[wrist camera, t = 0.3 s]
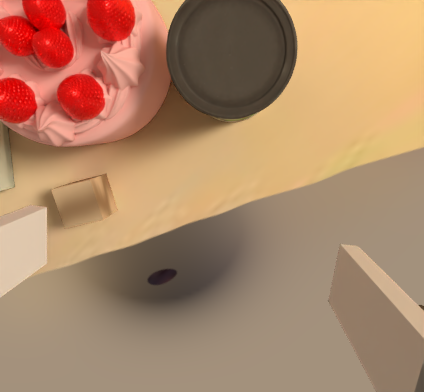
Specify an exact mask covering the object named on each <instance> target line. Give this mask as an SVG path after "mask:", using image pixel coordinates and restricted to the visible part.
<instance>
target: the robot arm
mask: <svg viewBox="0 0 424 392" xmlns="http://www.w3.org/2000/svg"><path fill="white" fill-rule="evenodd" d="M46 264H47V207H43V206H35V205H29V206H27V207H24V208H21V209H19V210H16V211H14V212H11V213H8V214H6V215H3V216H1V217H0V297H2V296H3V295H4V294H6V293H7V292H8V291H10V290H11V289H13V288H14V287H15V286H17V285H18V284H19V283H21V282H22V281H24V280H25V279H26V278H28V277H29V276H30V275H32V274H33V273H35V272H36V271H37V270H39V269H40V268H41V267H43V266H44V265H46ZM328 302H329V303H330V305H331V307H332V309H333V311H334V313H335V314H336V317H337V319H338V320H339V322H340V324H341V326H342V328H343V330H344V332H345V334H346V336H347V337H348V339H349V341H350V343H351V345H352V347H353V349H354V351H355V352H356V354H357V356H358V358H359V360H360V362H361V364H362V366H363V368H364V369H365V371H366V373H367V375H368V377H369V379H370V381H371V383H372V385H373V387H374V389H375V390H376V392H424V306H422V305H417V304H416V303H415V302H414V301H413V300H412V299H411V298H410V297H409V296H408V295H407V294H406V293H405V292H404V291H403V290H402V289H401V288H400V287H399V286H398V285H397V284H396V283H395V282H394V281H393V280H392V279H391V278H390V277H389V276H388V275H387V274H386V273H385V272H384V271H383V270H382V269H381V268H380V267H379V266H378V265H377V264H376V263H374V261H373V260H371V259H370V257H369V256H367V255H366V254H365V253H364V252H363V251H362V250H361V249H360V248H359V247H358V246H353V245H345V244H340V247H339V252H338V256H337V261H336V266H335V271H334V276H333V281H332V286H331V290H330V295H329V300H328Z"/></svg>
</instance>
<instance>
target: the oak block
mask: <svg viewBox="0 0 424 392" xmlns="http://www.w3.org/2000/svg"><path fill="white" fill-rule="evenodd" d="M51 191H52V194H53V197H54V200H55V202H56V205H57V208H58V211H59V214H60V217H61V220H62V222H63V225H64V228H65V229H67V228H71V227H75V226H80V225H84V224H88V223H92V222H96V221H101V220H104V219H105V218H107V217H108V216H110V215H111V214H112V213H114V212H115V211H117V210H118V209H117V206H116V203H115V200H114V197H113V193H112V190H111V187H110V184H109V181H108V178H107V174H104V175H100V176H96V177H92V178H88V179H84V180H80V181H77V182H73V183H69V184H66V185H63V186H60V187H57V188H54V189H51Z"/></svg>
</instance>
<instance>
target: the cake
mask: <svg viewBox="0 0 424 392" xmlns="http://www.w3.org/2000/svg"><path fill="white" fill-rule="evenodd" d="M167 36H168V31H167V28H166V26H165V24H164V21H163V19H162V17H161V15H160V14H159V12H158V10H157V9H156V7H155V5H154V4H153V2H152V1H151V0H0V121H1V122H3V123H4V124H5V125H6V126H8V127H9V128H10V129H12V130H13V131H15V132H17V133H18V134H20V135H22V136H24V137H26V138H28V139H30V140H33V141H36V142H39V143H43V144H47V145H52V146H56V147H59V146H62V147H71V146H84V145H93V144H102V143H109V142H114V141H117V140H121V139H124V138H126V137H129V136H131V135H133V134H134V133H136V132H137V131H139V130H140V129H142V128H143V127H144V126H145V125H147V124H148V123H149V122H150V121H151V120H152V118H153V117H154V116H155V115H156V113H157V112H158V110H159V109H160V107H161V106H162V104H163V102H164V100H165V98H166V95H167V93H168V90H169V86H170V82H171V76H170V73H169V70H168V66H167V60H166V43H167Z"/></svg>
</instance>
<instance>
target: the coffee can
mask: <svg viewBox="0 0 424 392" xmlns="http://www.w3.org/2000/svg"><path fill="white" fill-rule="evenodd" d="M296 58H297V36H296V31H295V27H294V24H293V21H292V19H291V16H290V14H289V13H288V11H287V9H286V7H285V6H284V5H283V3H282V2H281V1H280V0H185V2H184V3H183V4H182V5H181V7H180V8H179V9H178V11H177V12H176V14H175V16H174V18H173V20H172V23H171V25H170V29H169V32H168V36H167V43H166V60H167V66H168V70H169V73H170V76H171V79H172V81H173V83H174V85H175V87H176V88H177V90H178V91H179V93H180V94H181V95H182V97H183V98H184V99H185V100H186V101H187V102H188V103H189V104H190V105H191V106H193V107H194V108H195V109H197V110H199V111H201V112H203V113H205V114H207V115H209V116H211V117H213V118H215V119H217V120H220V121H224V122H239V121H243V120H246V119H249V118H251V117H252V116H254V115H256V114H257V113H258V112H259V111H261V110H263V109H265V108H266V107H268V106H269V105H270V104H271V103H273V102H274V101H275V100H276V99H277V98H278V97H279V96H280V94H281V93H282V92H283V90H284V89H285V87H286V86H287V84H288V82H289V80H290V78H291V76H292V73H293V70H294V67H295V63H296Z"/></svg>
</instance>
